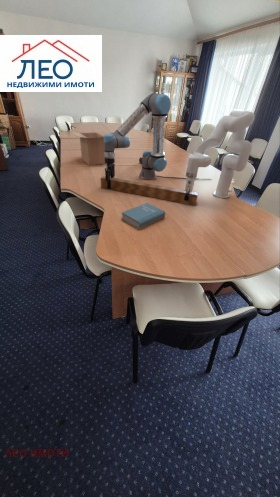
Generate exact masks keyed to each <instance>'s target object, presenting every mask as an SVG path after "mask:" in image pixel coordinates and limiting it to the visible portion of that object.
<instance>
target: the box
mask: <svg viewBox="0 0 280 497" xmlns="http://www.w3.org/2000/svg"><path fill="white" fill-rule="evenodd" d="M70 133H71V134H72V135H74V136H75V137H77V138H79V144H80V153H81V160H83V162H85V163H86V165H87V166H95V165H97V166H98V165H107V164H106V163H105V156H104V135H105V134H108V132H105V131H98V132H96V131H95V130H92V129H91V130H77V132H76V131H70Z"/></svg>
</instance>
